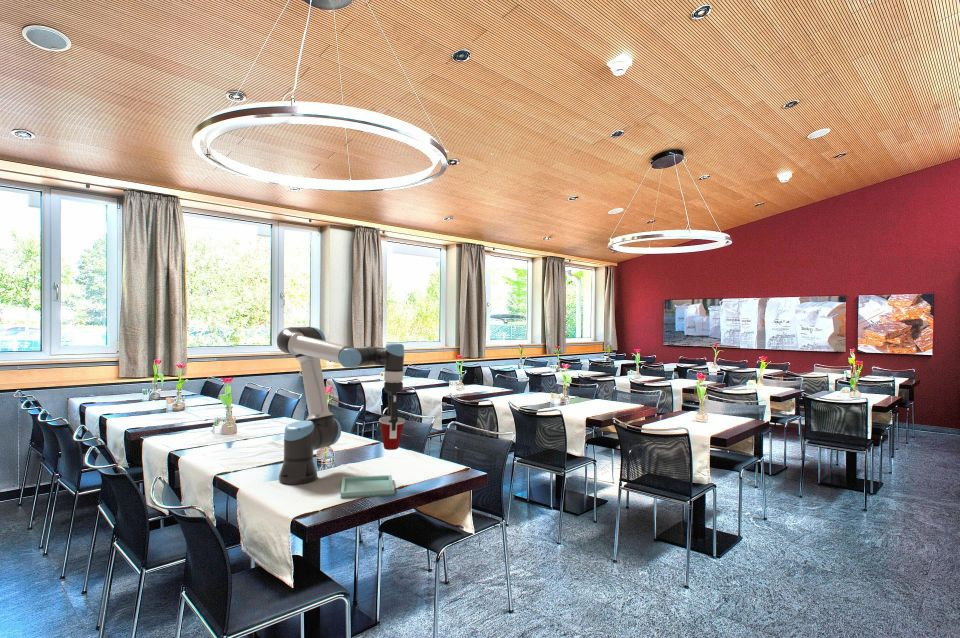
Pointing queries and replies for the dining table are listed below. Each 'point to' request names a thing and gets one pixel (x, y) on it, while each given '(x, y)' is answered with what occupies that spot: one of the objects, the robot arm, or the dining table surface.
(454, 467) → the dining table surface
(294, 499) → the dining table surface
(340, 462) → the dining table surface
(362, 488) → the tray
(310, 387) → the robot arm
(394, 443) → the plastic cup
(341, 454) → the dining table surface
